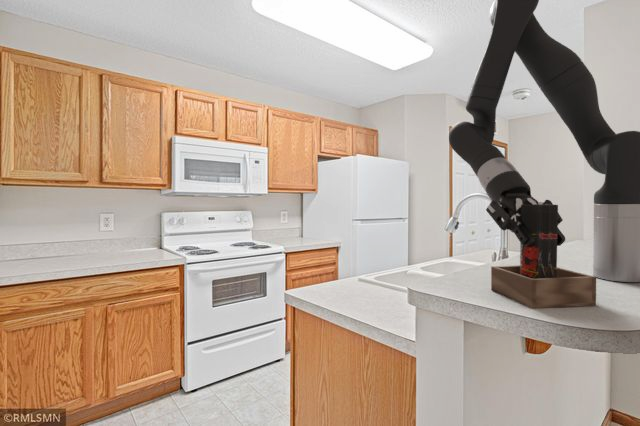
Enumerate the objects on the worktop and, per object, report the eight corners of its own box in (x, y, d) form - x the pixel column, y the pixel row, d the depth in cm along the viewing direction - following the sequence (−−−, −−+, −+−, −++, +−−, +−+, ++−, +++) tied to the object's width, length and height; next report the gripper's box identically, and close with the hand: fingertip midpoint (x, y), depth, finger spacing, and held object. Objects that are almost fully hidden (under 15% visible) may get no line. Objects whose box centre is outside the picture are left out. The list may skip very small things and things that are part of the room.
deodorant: (563, 286, 63) (565, 205, 62) (531, 286, 63) (532, 205, 62) (543, 278, 69) (544, 204, 68) (513, 279, 69) (514, 204, 68)
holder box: (545, 287, 72) (545, 264, 72) (595, 305, 60) (596, 277, 60) (491, 290, 71) (491, 266, 71) (531, 308, 59) (532, 280, 59)
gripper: (480, 169, 71) (523, 232, 60) (540, 169, 74) (592, 230, 62) (465, 195, 76) (501, 257, 65) (521, 194, 79) (566, 254, 68)
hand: (545, 243), depth 64 cm, fingers closed on deodorant, 6 cm apart
